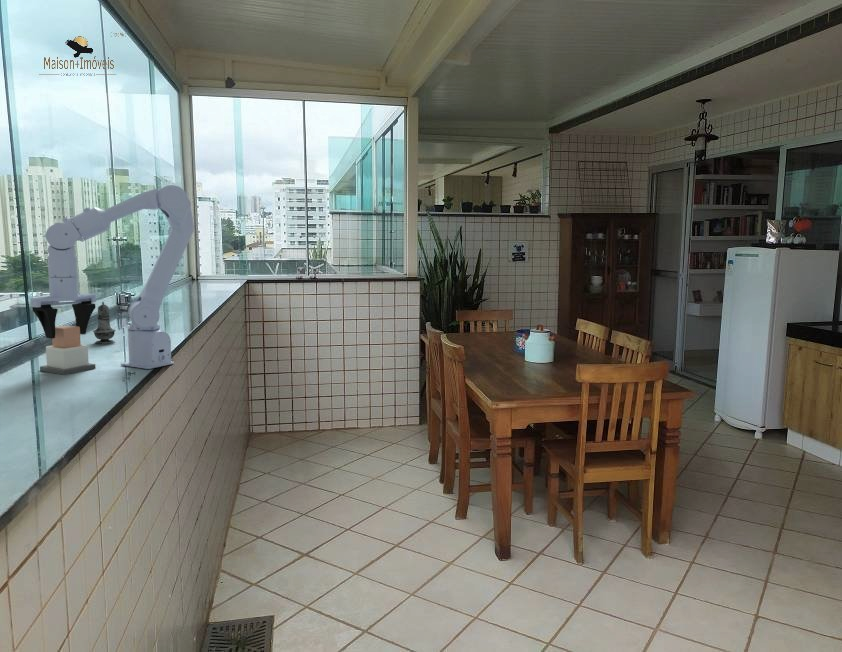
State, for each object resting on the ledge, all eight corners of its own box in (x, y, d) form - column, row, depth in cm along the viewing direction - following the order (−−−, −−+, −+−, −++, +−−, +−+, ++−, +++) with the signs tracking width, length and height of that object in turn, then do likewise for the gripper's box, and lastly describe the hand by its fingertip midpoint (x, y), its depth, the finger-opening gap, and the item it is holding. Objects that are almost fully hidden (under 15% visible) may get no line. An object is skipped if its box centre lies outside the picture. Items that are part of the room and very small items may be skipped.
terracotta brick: (80, 347, 142) (79, 326, 142) (64, 350, 139) (63, 328, 138) (68, 346, 144) (67, 325, 143) (52, 348, 140) (51, 327, 140)
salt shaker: (120, 341, 181) (118, 301, 179) (108, 344, 175) (106, 303, 173) (101, 340, 181) (99, 300, 180) (88, 344, 175) (86, 302, 174)
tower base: (95, 368, 144) (94, 344, 143) (63, 374, 137) (62, 350, 136) (72, 364, 147) (71, 341, 147) (40, 370, 140) (38, 346, 139)
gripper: (80, 274, 147) (83, 330, 149) (19, 277, 134) (23, 338, 136) (100, 276, 145) (103, 333, 146) (41, 278, 131) (44, 341, 133)
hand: (66, 335), depth 141 cm, fingers open, 7 cm apart
